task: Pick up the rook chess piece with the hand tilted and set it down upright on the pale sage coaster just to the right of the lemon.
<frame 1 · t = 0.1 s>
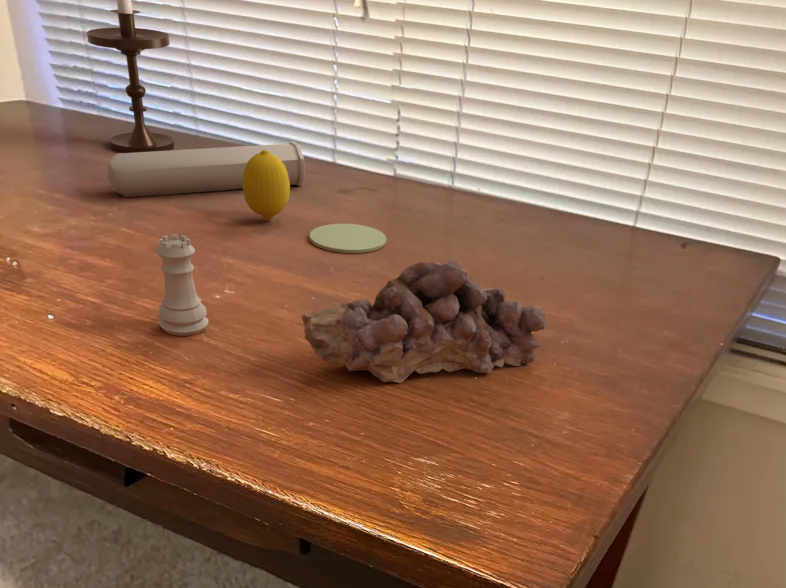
coaster: (348, 239, 96), on the table
lemon: (267, 222, 99), on the table
tube: (208, 191, 107), on the table
mineral specimen: (424, 366, 72), on the table
candlestick: (142, 147, 121), on the table
rook chess piece: (184, 329, 75), on the table
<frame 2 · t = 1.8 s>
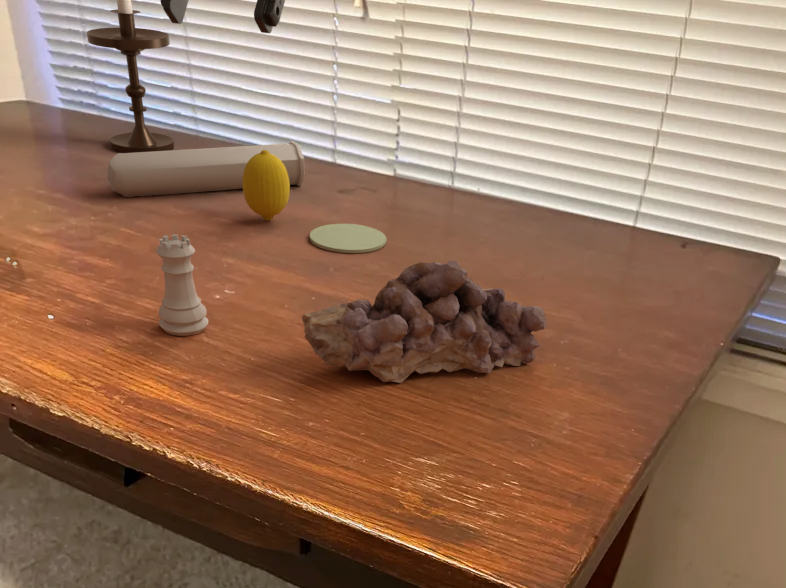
hand: (216, 21, 69), 23 cm above the table, tool tilted 45°, fingers open, 8 cm apart
nothing on the table moved.
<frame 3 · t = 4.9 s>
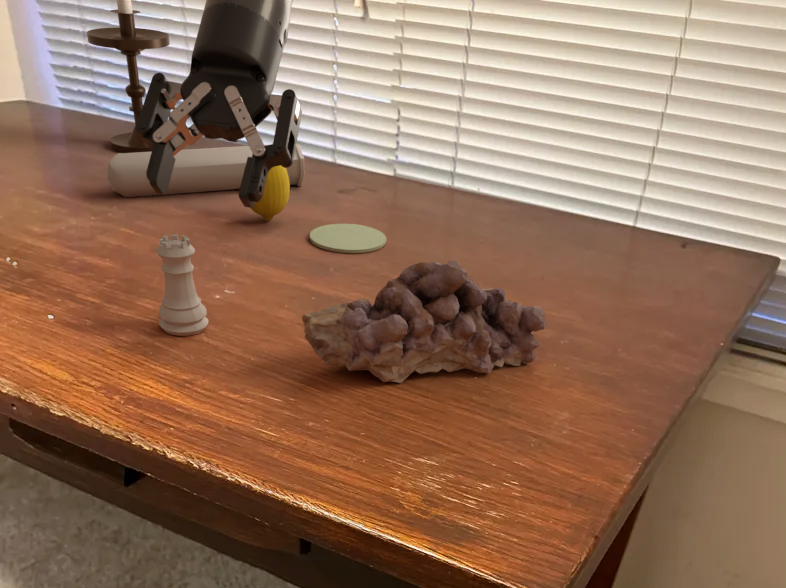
hand: (201, 196, 73), 10 cm above the table, tool tilted 45°, fingers open, 8 cm apart
nothing on the table moved.
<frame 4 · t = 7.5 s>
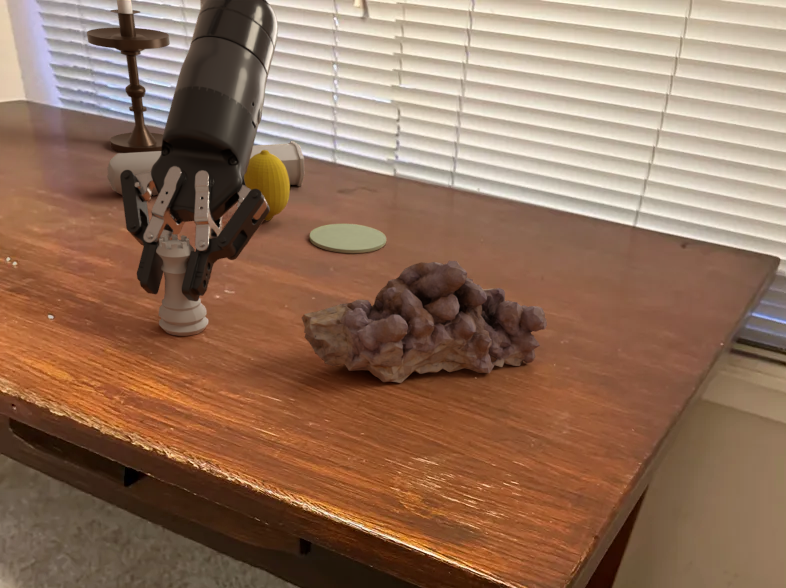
hand: (169, 292, 71), 4 cm above the table, tool tilted 45°, fingers closed on rook chess piece, 3 cm apart
rook chess piece: (184, 329, 75), on the table, touching gripper
everything else where it was.
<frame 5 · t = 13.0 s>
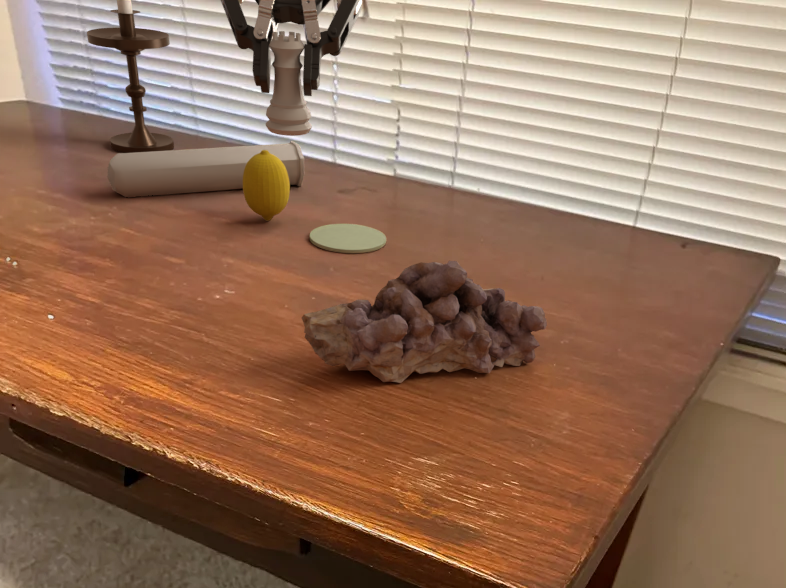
hand: (286, 88, 74), 18 cm above the table, tool tilted 45°, fingers closed on rook chess piece, 3 cm apart
rook chess piece: (289, 132, 78), point 14 cm above the table, touching gripper
everything else where it was.
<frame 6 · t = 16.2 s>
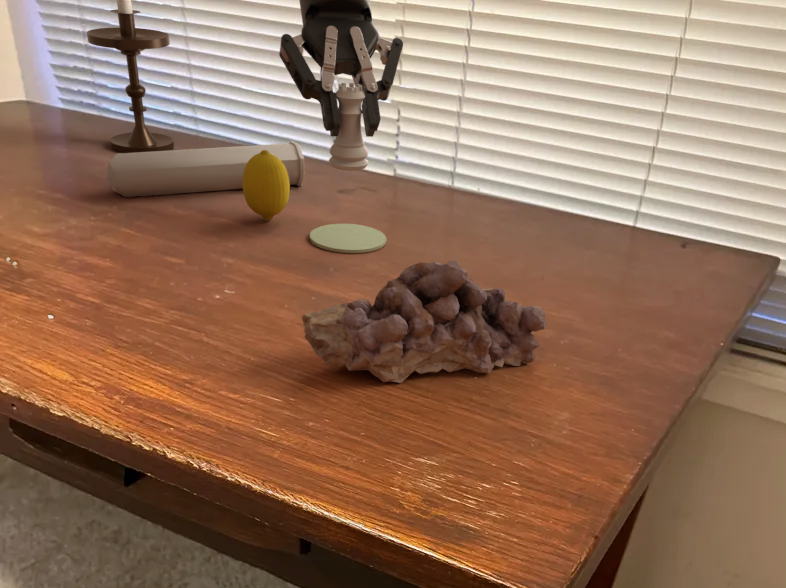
hand: (353, 131, 87), 12 cm above the table, tool tilted 45°, fingers closed on rook chess piece, 3 cm apart
rook chess piece: (348, 167, 91), point 8 cm above the table, touching gripper
everything else where it was.
when the fingers open (4 cm above the table, at t = 18.6 s): rook chess piece stays where it is, resting on coaster.
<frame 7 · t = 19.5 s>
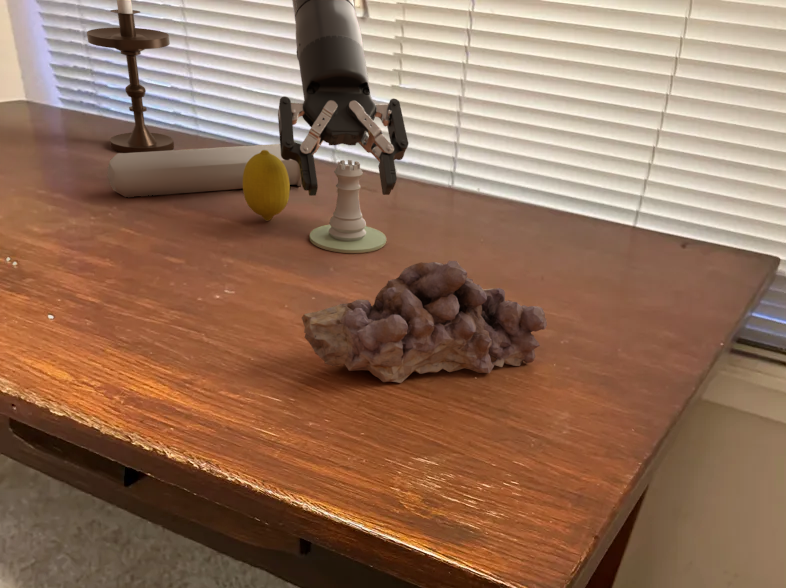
hand: (351, 191, 91), 6 cm above the table, tool tilted 45°, fingers open, 8 cm apart
rook chess piece: (347, 237, 96), resting on coaster
everything else where it was.
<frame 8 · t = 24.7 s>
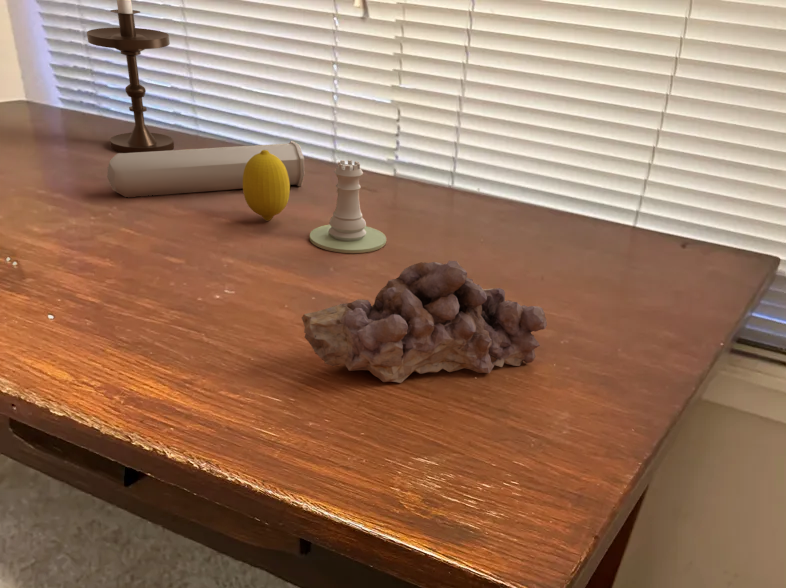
nothing on the table moved.
at the end: rook chess piece inside the target area on the table beside the lemon (1.1 cm from its centre), resting on coaster; rook chess piece tilted 0°; lemon moved 0.2 cm from its start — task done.
